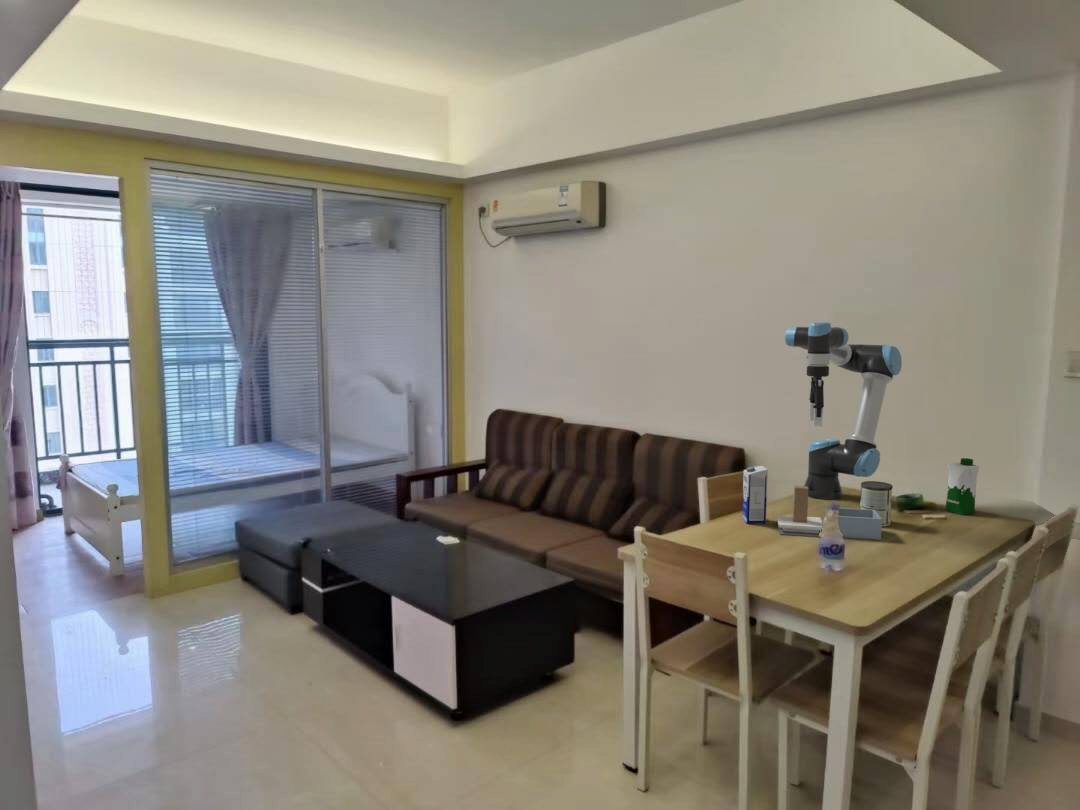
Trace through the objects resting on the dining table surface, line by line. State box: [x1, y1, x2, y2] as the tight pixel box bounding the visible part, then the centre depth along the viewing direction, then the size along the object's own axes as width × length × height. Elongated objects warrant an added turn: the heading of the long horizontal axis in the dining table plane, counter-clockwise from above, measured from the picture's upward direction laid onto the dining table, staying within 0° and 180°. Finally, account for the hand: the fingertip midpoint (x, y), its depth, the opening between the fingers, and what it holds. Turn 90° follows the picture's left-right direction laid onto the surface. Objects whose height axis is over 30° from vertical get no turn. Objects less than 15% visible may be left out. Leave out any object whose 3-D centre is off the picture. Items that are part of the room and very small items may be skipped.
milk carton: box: [741, 465, 769, 525], centre depth 264 cm, size 7×7×20 cm
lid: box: [776, 485, 824, 533], centre depth 254 cm, size 13×15×15 cm
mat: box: [776, 521, 820, 538], centre depth 254 cm, size 16×14×1 cm
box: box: [837, 507, 882, 540], centre depth 250 cm, size 12×14×7 cm
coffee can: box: [859, 480, 894, 528], centre depth 262 cm, size 10×10×14 cm
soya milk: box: [944, 457, 980, 516], centre depth 275 cm, size 9×9×20 cm
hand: (815, 423), depth 267 cm, fingers open, 13 cm apart
